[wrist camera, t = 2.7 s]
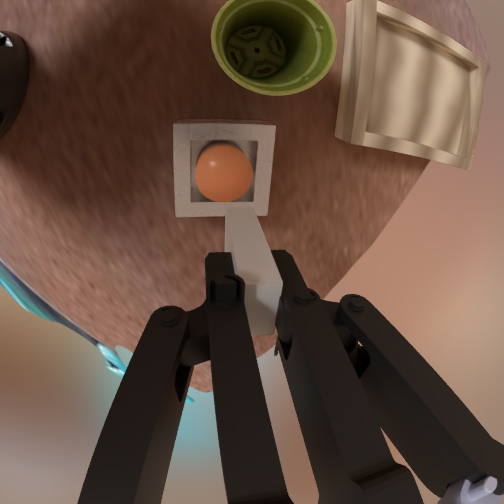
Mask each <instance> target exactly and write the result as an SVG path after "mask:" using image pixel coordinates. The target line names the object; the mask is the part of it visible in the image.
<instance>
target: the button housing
mask: <svg viewBox="0 0 504 504" xmlns="http://www.w3.org/2000/svg"><path fill="white" fill-rule="evenodd" d="M275 132H276V126H275V125H273V124H271V123H270V122H268V121H265V120H247V119H178V120H177V121H176V122H175V123H174V124H173V160H174V193H175V213H176V217H207V216H225V213H226V208H228V207H253V208H254V211H255V213H256V216H267V213H268V204H269V194H270V184H271V174H272V163H273V153H274V143H275ZM218 142H228V143H232V144H234V145H236V146H238V147H239V148H240V149H241V150H242V151H243V152H244V154H245V156H246V157H247V159H248V160H249V162H250V164H251V167H252V171H253V178H252V182H251V185H250V187H249V189H248V190H247V191H246V192H245V193H244V194H243V195H242V196H241V197H239V198H238V199H236V200H233V201H230V202H216V201H213V200H210V199H209V198H207V197H205V196H204V195H203V194H202V193H201V192H200V190H199V188H198V187H197V184H196V179H195V173H196V163H197V159H198V157H199V155H200V154H201V152H202V151H203V150H204V149H205V148H206V147H208V146H209V145H211V144H214V143H218Z"/></svg>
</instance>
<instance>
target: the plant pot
mask: <svg viewBox="0 0 504 504" xmlns="http://www.w3.org/2000/svg"><path fill="white" fill-rule="evenodd" d="M251 29H253V30H255V32H251V33H247V34H244V35H242V34H243V32H245V31H247V30H251ZM275 39H276V40H278V41H279V43H280V45H281V50H278V47H277V44H276V42H275ZM211 44H212V49H213V52H214V55H215V58H216V60H217V62H218V63H219V65H220V67H221V68H222V69H223V71H224V72H225V73H226V74H227V75H228V76H229V77H230V78H231V79H232V80H234V81H235V82H236V83H238V84H239V85H241V86H243V87H244V88H246V89H249V90H251V91H253V92H256V93H260V94H264V95H271V96H284V95H291V94H295V93H299V92H301V91H304V90H306V89H308V88H310V87H312V86H314V85H315V84H316V83H318V82H319V81H320V80H321V79H322V78H323V77H324V76H325V75H326V74H327V72H328V71H329V69H330V68H331V66H332V65H333V62H334V59H335V56H336V51H337V38H336V32H335V29H334V27H333V24H332V22H331V20H330V18H329V17H328V15H327V14H326V12H325V11H324V10H323V9H322V8H321V7H320V6H319V5H318V4H317V3H316V2H315V1H313V0H229V1H227V2H226V3H225V4H224V5H223V6H222V8H221V9H220V10H219V12H218V13H217V15H216V17H215V19H214V22H213V25H212V30H211ZM256 48H258V49H259V50H260V51H259V52H258V53H256V52H255V49H256ZM232 52H234V53H235V57H236V59H237V61H238V64H237V63H235V61H234V59H233V58H232V55H231V53H232ZM267 68H271V69H270V70H269V71H268V72H264V73H258V71H259V70H264V69H267Z"/></svg>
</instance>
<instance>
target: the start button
mask: <svg viewBox="0 0 504 504" xmlns="http://www.w3.org/2000/svg"><path fill="white" fill-rule="evenodd" d="M252 178H253V171H252V167H251V164H250V162H249V160H248V159H247V157H246V156H245V154H244V152H243V151H242V150H241V149H240V148H239V147H238V146H236V145H234V144H232V143H228V142H218V143H214V144H211V145H209V146H208V147H206V148H205V149H204V150H203V151H202V152H201V154H200V155H199V157H198V159H197V163H196V173H195V179H196V184H197V187H198V188H199V190H200V192H201V193H202V194H203V195H204V196H205V197H207V198H209V199H210V200H213V201H216V202H230V201H233V200H236V199H238V198H239V197H241V196H242V195H243V194H244V193H245V192H246V191H247V190H248V189H249V187H250V185H251V182H252Z"/></svg>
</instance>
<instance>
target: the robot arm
mask: <svg viewBox="0 0 504 504" xmlns="http://www.w3.org/2000/svg"><path fill="white" fill-rule="evenodd" d="M28 76H29V59H28V53H27V49H26V46H25V44H24V42H23V41H22V39H21V38H20V37H19V36H18V35H17V34H15V33H13V32H8V31H0V138H1V137H2V136H3V135H4V134H5V133H6V132H7V131H8V129H9V128H10V127H11V125H12V124H13V122H14V120H15V118H16V117H17V115H18V112H19V110H20V108H21V105H22V103H23V100H24V96H25V93H26V88H27V83H28ZM205 275H206V300H205V302H204V303H203V304H202V305H201V306H200V307H198V308H196V309H194V310H191V311H187V312H186V311H184V310H183V309H182V308H180V307H177V306H164V307H160V308H159V309H157V310H155V311H154V312H153V314H152V315H151V316H150V319H149V321H148V323H147V325H146V327H145V329H144V331H143V334H142V336H141V338H140V340H139V342H138V344H137V347H136V349H135V351H134V353H133V356H132V358H131V360H130V362H129V365H128V367H127V369H126V372H125V374H124V376H123V379H122V381H121V383H120V386H119V388H118V391H117V393H116V395H115V398H114V400H113V403H112V406H111V408H110V410H109V413H108V416H107V418H106V421H105V424H104V426H103V429H102V431H101V434H100V437H99V439H98V442H97V445H96V448H95V451H94V454H93V456H92V459H91V462H90V465H89V468H88V471H87V474H86V477H85V481H84V484H83V487H82V490H81V493H80V497H79V500H78V504H161V500H162V495H163V491H164V486H165V482H166V478H167V473H168V469H169V465H170V460H171V456H172V451H173V448H174V443H175V440H176V436H177V431H178V427H179V423H180V419H181V415H182V411H183V407H184V403H185V400H186V396H187V392H188V388H189V384H190V380H191V377H192V373H193V369H194V365H196V364H199V363H203V362H206V361H209V360H210V362H211V373H212V384H213V394H214V404H215V414H216V422H217V431H218V440H219V448H220V455H221V462H222V469H223V476H224V483H225V489H226V496H227V501H228V504H294V503H293V502H292V500H291V499H290V497H289V495H288V492H287V488H286V485H285V480H284V476H283V473H282V468H281V464H280V460H279V456H278V451H277V447H276V443H275V439H274V434H273V430H272V426H271V421H270V417H269V413H268V408H267V404H266V400H265V395H264V391H263V386H262V382H261V377H260V373H259V368H258V364H257V359H256V354H255V350H254V345H253V341H252V336H258V335H270V334H274V331H275V326H276V329H277V332H278V336H277V341H276V346H275V351H274V352H275V353H274V355H277V354H278V350H279V354H280V357H281V361H282V364H283V368H284V371H285V375H286V378H287V382H288V385H289V389H290V392H291V396H292V400H293V403H294V407H295V410H296V414H297V417H298V421H299V424H300V428H301V431H302V435H303V438H304V442H305V446H306V449H307V452H308V456H309V460H310V463H311V467H312V470H313V474H314V477H315V481H316V484H317V488H318V492H319V501H318V504H424V503H423V500H422V497H421V495H420V492H419V489H418V487H417V484H416V482H415V479H414V477H413V475H412V473H411V471H410V470H409V469H408V468H407V467H406V466H404V465H401V464H398V463H396V462H395V461H394V459H393V457H392V455H391V452H390V450H389V447H388V445H387V443H386V440H385V438H384V435H383V433H382V431H381V428H382V430H383V431H384V432H385V434H386V435H387V436H388V438H389V439H390V440H391V442H392V443H393V444H394V446H395V447H396V448H397V450H398V451H399V452H400V454H401V455H402V456H403V458H404V459H405V461H406V462H407V463H408V465H409V466H410V467H411V469H412V470H413V471H414V473H415V474H416V475H417V477H418V478H419V479H420V480H421V482H422V483H423V484H424V485H425V486H426V487H427V488H428V489H429V490H430V491H431V492H432V493H434V494H435V495H437V496H438V497H440V498H441V499H440V500H439V501H438V504H500V503H501V500H502V498H503V495H504V445H503V444H501V443H499V442H498V441H496V440H494V439H493V438H492V437H491V436H490V435H489V434H488V432H487V431H486V430H485V429H484V427H483V426H482V425H481V424H480V422H479V421H478V420H477V419H476V418H475V416H474V415H473V414H472V413H471V412H470V410H469V409H468V408H467V407H466V406H465V405H464V403H463V402H462V401H461V400H460V399H459V397H458V396H457V395H456V394H455V393H454V392H453V391H452V389H451V388H450V387H449V386H448V385H447V384H446V383H445V381H444V380H443V379H442V378H441V377H440V376H439V375H438V374H437V372H436V371H434V369H433V368H432V367H431V366H430V365H429V364H428V363H427V362H426V360H425V359H424V358H423V357H422V356H421V355H420V354H419V353H418V352H417V351H416V349H414V347H413V346H412V345H411V344H410V343H409V342H408V341H407V340H406V339H405V338H404V337H403V336H402V335H401V334H400V332H399V331H398V330H397V329H396V328H395V327H394V326H393V325H392V324H391V323H390V322H389V321H388V320H387V319H386V318H385V317H384V316H383V315H382V314H381V313H380V312H379V311H378V310H377V309H376V308H375V307H374V306H373V305H372V304H371V303H370V302H369V301H368V300H367V299H366V298H364V297H362V296H360V295H356V294H348V295H345V296H344V297H342V299H341V300H340V303H338V302H330V301H325V300H322V299H320V297H319V295H318V294H317V293H316V292H315V291H314V290H312V289H310V288H307V286H306V284H305V282H304V280H303V277H302V275H301V273H300V271H299V269H298V267H297V265H296V264H295V261H294V259H293V257H292V255H290V254H289V253H288V252H287V251H285V250H270V248H269V246H268V243H267V241H266V238H265V236H264V233H263V231H262V228H261V226H260V223H259V221H258V218H257V216H256V213H255V211H254V208H253V207H228V208H226V213H225V252H215V253H209V254H208V255H207V257H206V258H205ZM358 341H359V342H360V343H361V344H362V346H360V345H359V344H358ZM380 427H381V428H380Z"/></svg>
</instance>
